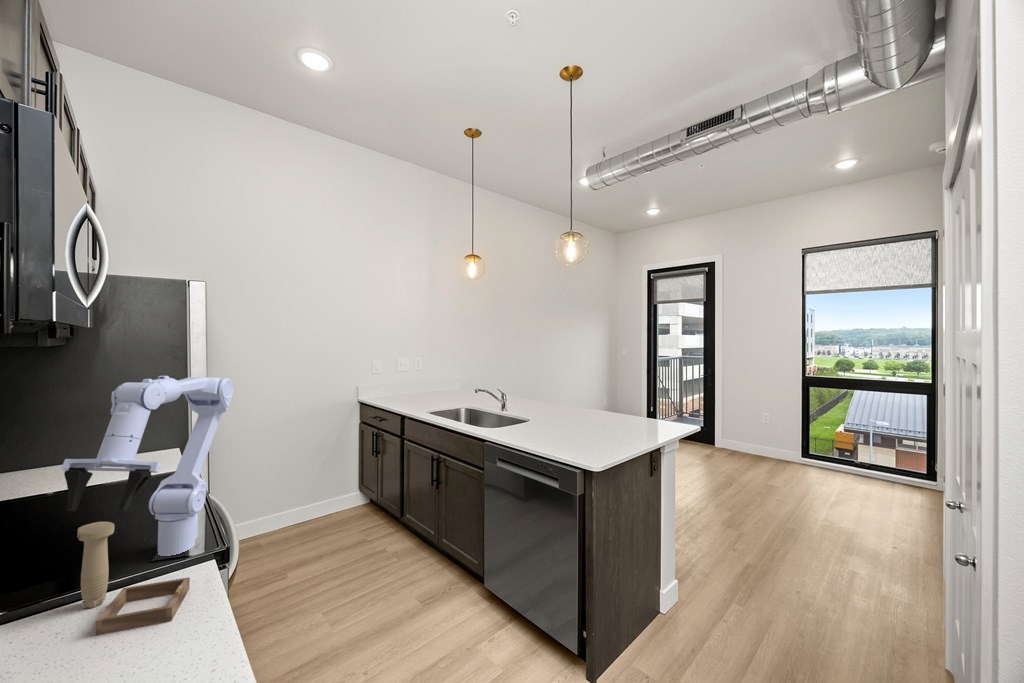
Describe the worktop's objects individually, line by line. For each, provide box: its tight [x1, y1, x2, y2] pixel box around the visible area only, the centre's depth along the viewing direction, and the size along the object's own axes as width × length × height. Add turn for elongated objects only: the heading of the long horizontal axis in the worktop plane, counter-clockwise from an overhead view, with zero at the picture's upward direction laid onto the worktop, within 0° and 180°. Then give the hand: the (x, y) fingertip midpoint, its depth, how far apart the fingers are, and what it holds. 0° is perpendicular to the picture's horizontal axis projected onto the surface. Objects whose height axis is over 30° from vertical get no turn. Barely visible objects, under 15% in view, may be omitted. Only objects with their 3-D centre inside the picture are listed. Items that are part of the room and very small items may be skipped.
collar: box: [94, 577, 190, 637], centre depth 81 cm, size 11×11×3 cm
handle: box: [76, 521, 115, 609], centre depth 82 cm, size 5×6×15 cm
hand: (97, 510), depth 80 cm, fingers open, 7 cm apart
